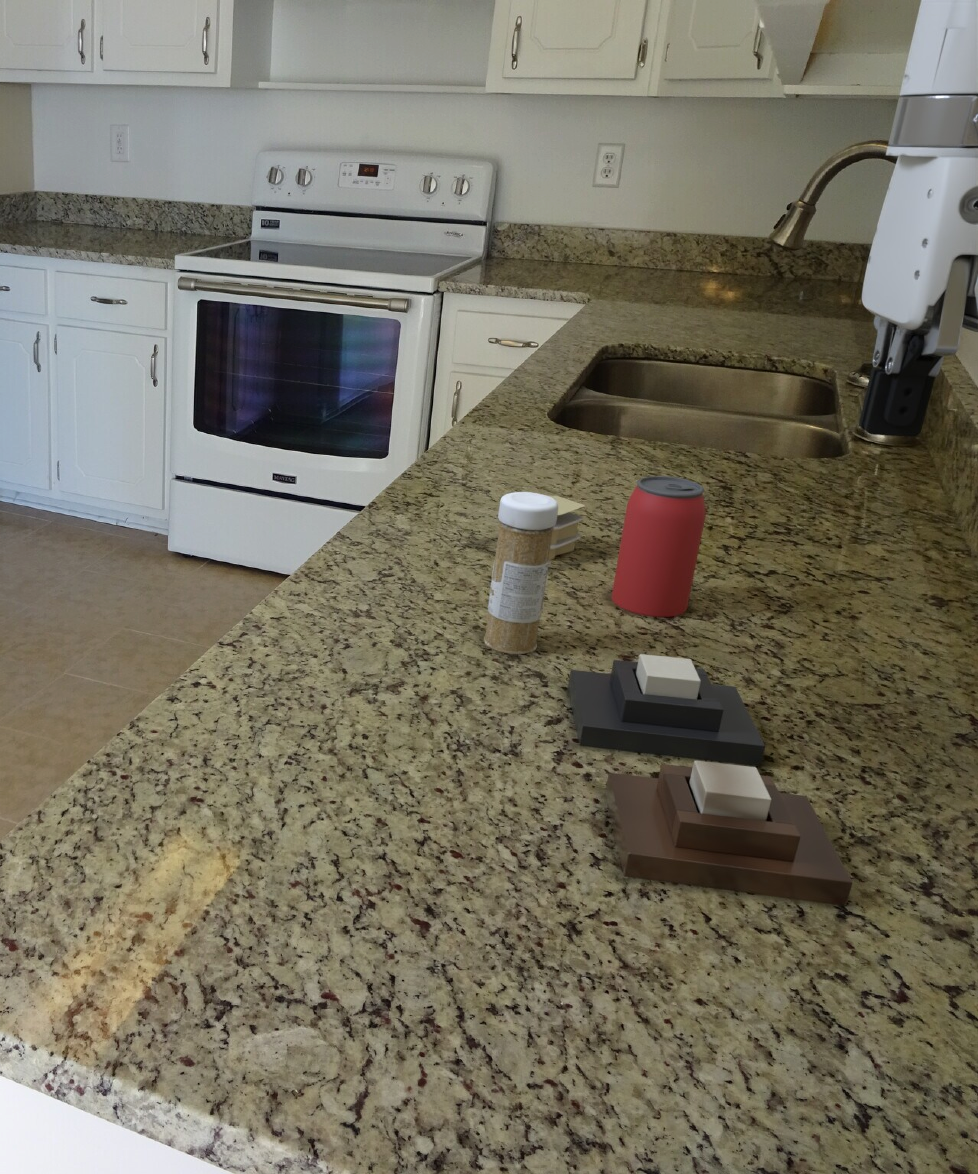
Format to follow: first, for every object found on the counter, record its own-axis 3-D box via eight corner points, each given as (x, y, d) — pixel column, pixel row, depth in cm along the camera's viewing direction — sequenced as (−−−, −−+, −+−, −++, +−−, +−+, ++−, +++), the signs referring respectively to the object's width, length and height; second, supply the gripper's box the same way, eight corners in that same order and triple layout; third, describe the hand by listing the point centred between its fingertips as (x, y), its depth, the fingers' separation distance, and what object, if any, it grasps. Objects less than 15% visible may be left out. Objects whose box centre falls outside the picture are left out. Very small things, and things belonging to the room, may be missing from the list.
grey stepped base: (729, 711, 85) (740, 665, 83) (759, 773, 77) (771, 723, 75) (566, 694, 87) (573, 648, 86) (578, 752, 79) (586, 703, 78)
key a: (750, 791, 68) (756, 766, 68) (765, 824, 65) (772, 799, 64) (688, 783, 69) (693, 759, 68) (700, 816, 66) (706, 791, 65)
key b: (686, 679, 82) (691, 658, 81) (696, 702, 79) (701, 680, 78) (635, 674, 83) (639, 653, 82) (643, 697, 79) (647, 675, 79)
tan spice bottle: (487, 633, 98) (505, 487, 92) (540, 643, 96) (562, 494, 91) (477, 654, 94) (496, 502, 89) (533, 664, 92) (555, 510, 87)
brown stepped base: (799, 824, 71) (813, 771, 70) (844, 914, 63) (861, 856, 62) (603, 800, 74) (613, 748, 72) (622, 884, 65) (633, 827, 64)
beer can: (693, 625, 100) (719, 498, 95) (617, 620, 101) (639, 493, 96) (676, 597, 106) (700, 476, 101) (604, 592, 107) (624, 472, 102)
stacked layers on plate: (537, 534, 122) (544, 486, 120) (605, 559, 115) (613, 509, 113) (472, 550, 117) (478, 500, 115) (538, 578, 110) (546, 525, 108)
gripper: (1102, 131, 58) (1002, 467, 66) (980, 131, 72) (908, 409, 79) (944, 130, 60) (864, 459, 67) (854, 130, 73) (794, 404, 80)
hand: (888, 431), depth 73 cm, fingers closed
